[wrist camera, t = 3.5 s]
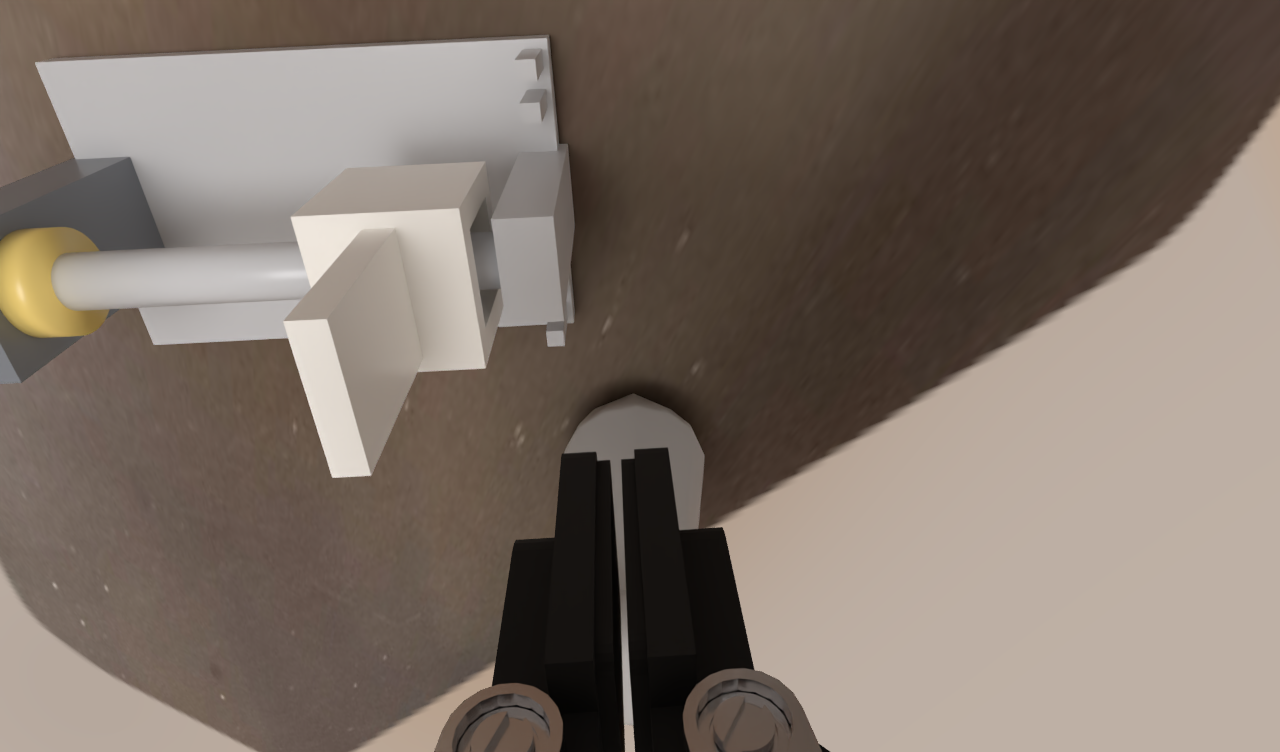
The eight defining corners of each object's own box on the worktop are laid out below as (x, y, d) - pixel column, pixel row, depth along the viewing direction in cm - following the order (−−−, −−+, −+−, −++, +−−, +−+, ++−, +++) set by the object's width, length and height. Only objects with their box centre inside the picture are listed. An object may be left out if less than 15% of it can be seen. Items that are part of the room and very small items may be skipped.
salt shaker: (602, 355, 30) (599, 597, 19) (722, 407, 32) (784, 660, 21) (544, 458, 33) (511, 726, 22) (658, 502, 34) (682, 774, 23)
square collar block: (485, 161, 21) (410, 294, 13) (505, 299, 24) (451, 486, 16) (346, 168, 21) (187, 306, 13) (380, 306, 24) (260, 496, 15)
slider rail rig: (558, 34, 24) (534, 77, 16) (582, 311, 29) (573, 444, 21) (49, 58, 24) (-219, 113, 16) (162, 333, 29) (-1, 475, 21)
